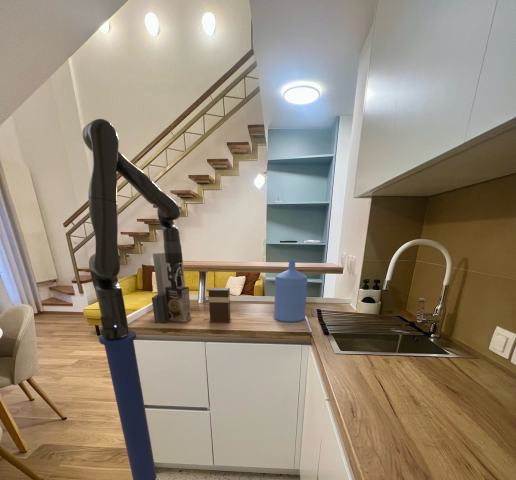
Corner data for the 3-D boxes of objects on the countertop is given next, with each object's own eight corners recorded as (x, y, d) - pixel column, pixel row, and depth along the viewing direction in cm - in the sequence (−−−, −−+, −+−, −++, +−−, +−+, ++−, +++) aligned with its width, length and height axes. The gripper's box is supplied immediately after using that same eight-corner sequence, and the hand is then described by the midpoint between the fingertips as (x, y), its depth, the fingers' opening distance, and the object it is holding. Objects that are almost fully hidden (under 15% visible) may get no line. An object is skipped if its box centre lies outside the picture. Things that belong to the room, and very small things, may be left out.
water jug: (310, 320, 137) (315, 261, 127) (281, 323, 132) (283, 262, 122) (296, 312, 151) (299, 258, 140) (269, 315, 146) (270, 259, 136)
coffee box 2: (228, 322, 133) (227, 290, 128) (210, 322, 134) (208, 290, 128) (230, 319, 139) (229, 287, 133) (212, 318, 139) (210, 287, 133)
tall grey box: (166, 313, 147) (159, 254, 136) (159, 312, 150) (152, 253, 139) (186, 308, 158) (182, 252, 147) (180, 306, 161) (174, 252, 150)
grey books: (165, 323, 132) (161, 295, 127) (154, 322, 132) (151, 295, 127) (172, 316, 142) (169, 291, 137) (163, 316, 142) (159, 290, 138)
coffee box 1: (168, 320, 136) (164, 287, 130) (176, 317, 141) (173, 285, 135) (183, 322, 133) (180, 288, 127) (191, 319, 138) (189, 286, 132)
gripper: (170, 250, 132) (174, 285, 138) (159, 252, 119) (163, 290, 125) (185, 250, 131) (189, 285, 138) (176, 252, 118) (180, 291, 124)
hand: (177, 287), depth 131 cm, fingers open, 8 cm apart
